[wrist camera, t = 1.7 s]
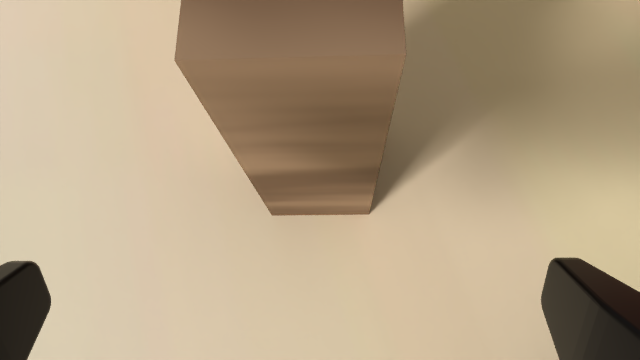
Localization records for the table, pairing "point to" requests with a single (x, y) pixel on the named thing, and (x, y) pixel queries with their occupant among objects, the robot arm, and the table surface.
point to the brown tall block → (298, 93)
